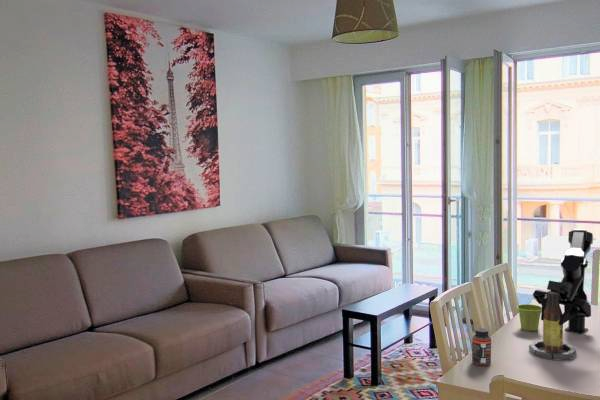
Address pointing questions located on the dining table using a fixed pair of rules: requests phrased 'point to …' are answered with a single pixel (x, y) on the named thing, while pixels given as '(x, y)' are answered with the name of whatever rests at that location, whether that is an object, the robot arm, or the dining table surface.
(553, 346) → the sauce bottle
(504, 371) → the dining table surface
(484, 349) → the supplement bottle
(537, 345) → the dark grey octagonal tray
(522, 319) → the plant pot
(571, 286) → the robot arm
